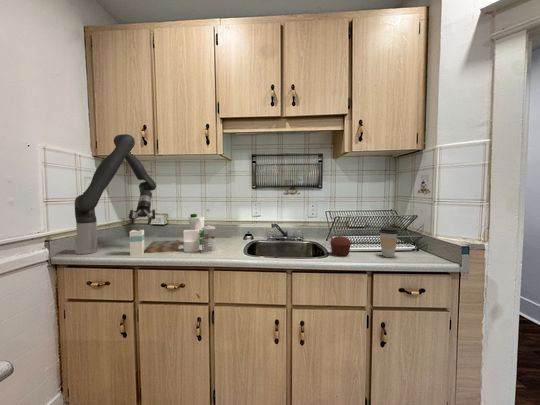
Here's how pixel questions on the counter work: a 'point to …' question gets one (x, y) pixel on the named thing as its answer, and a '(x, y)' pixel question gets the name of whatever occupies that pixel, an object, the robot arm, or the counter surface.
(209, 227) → the french press
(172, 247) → the brown shallow square tray
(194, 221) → the milk carton
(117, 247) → the counter surface
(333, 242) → the muffin
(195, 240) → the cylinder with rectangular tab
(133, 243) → the cream carton
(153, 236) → the counter surface
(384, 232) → the coffee cup
